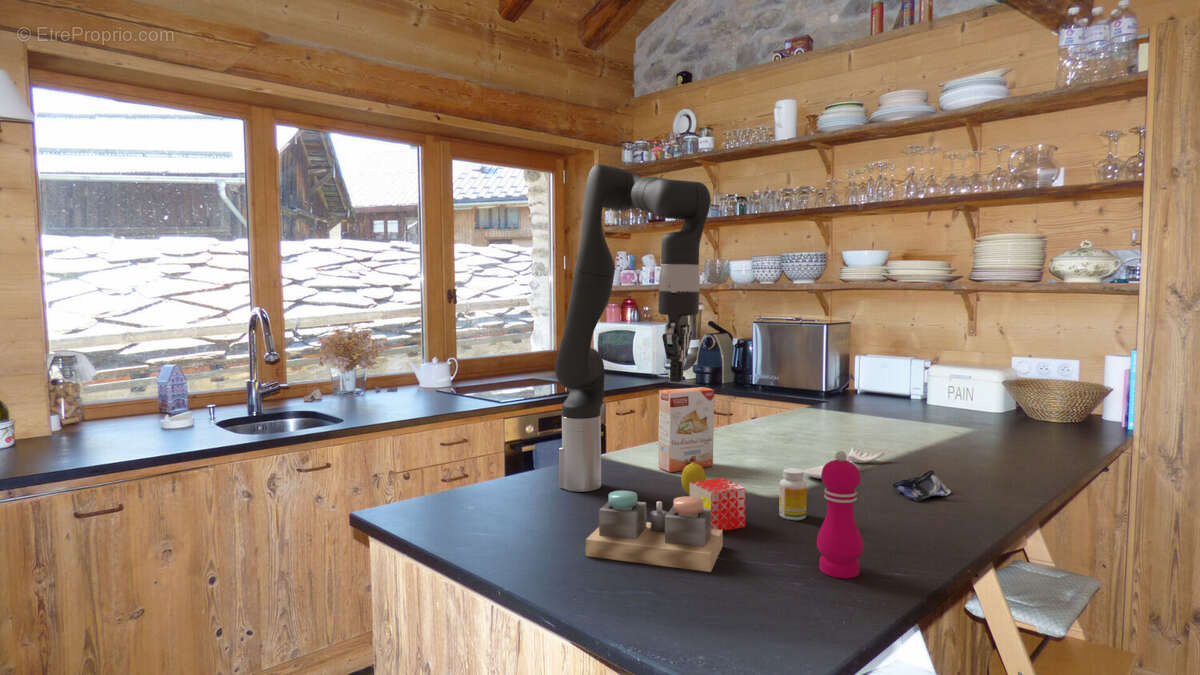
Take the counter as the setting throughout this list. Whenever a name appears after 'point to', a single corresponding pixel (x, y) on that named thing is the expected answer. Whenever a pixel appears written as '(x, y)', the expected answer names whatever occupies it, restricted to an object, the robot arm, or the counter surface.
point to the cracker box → (686, 428)
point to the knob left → (623, 500)
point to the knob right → (688, 506)
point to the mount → (656, 539)
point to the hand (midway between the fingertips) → (676, 381)
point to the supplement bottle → (792, 495)
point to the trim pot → (658, 519)
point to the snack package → (922, 487)
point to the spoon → (852, 456)
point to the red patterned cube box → (721, 502)
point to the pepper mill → (840, 520)
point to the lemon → (692, 475)
